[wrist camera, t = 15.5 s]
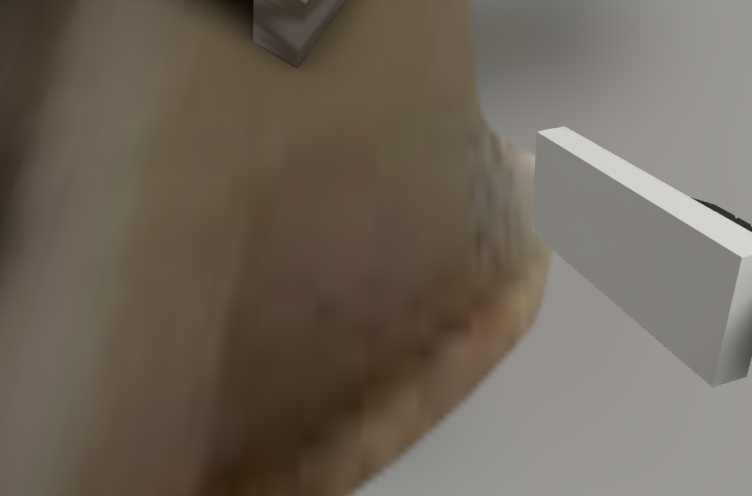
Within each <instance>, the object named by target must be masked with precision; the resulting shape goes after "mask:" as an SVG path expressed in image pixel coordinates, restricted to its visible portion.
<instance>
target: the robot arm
mask: <svg viewBox="0 0 752 496" xmlns="http://www.w3.org/2000/svg"><path fill="white" fill-rule="evenodd" d="M531 232H533V233H534V234H535V235H536V236H537V237H538V238H540V239H541V240H542V241H543V242H544V243H545V244H547V245H548V246H549V247H550V248H551V249H552V250H554V251H555V252H556V253H557V254H558V255H559V256H561V257H562V258H563V259H564V260H565V261H566V262H567V263H569V264H570V265H571V266H572V267H573V268H574V269H576V270H577V271H578V272H579V273H580V274H581V275H583V276H584V277H585V278H586V279H587V280H588V281H590V282H591V283H592V284H593V285H594V286H595V287H597V288H598V289H599V290H600V291H601V292H602V293H604V294H605V295H606V296H607V297H609V299H610V300H612V301H613V302H614V303H615V304H616V305H617V306H619V307H620V308H621V309H622V310H623V311H624V312H626V313H627V314H628V315H629V316H630V317H631V318H633V319H634V320H635V321H636V322H637V323H638V324H639V325H641V326H642V327H643V328H644V329H645V330H647V331H648V332H649V333H650V334H651V335H652V336H654V337H655V338H656V339H657V340H658V341H659V342H660V343H662V344H663V345H664V346H665V347H666V348H668V349H669V350H670V351H671V352H672V353H673V354H674V355H675V356H677V357H678V358H679V359H680V360H681V361H682V362H684V363H685V364H686V365H687V366H688V367H690V368H691V369H692V370H693V371H694V372H695V373H696V374H698V375H699V376H700V377H701V378H702V379H703V380H705V381H706V382H707V383H708V384H709V385H710V386H712V387H715V386H718V385H721V384H724V383H727V382H731V381H734V380H737V379H741V378H744V377H746V376H747V373H748V369H749V365H750V361H751V357H752V227H751V225H750V224H749V223H747V222H745V221H743V220H741V219H740V218H737V219H736V218H735V216H734V215H732V214H731V213H729V212H727V211H725V210H723V209H722V208H720V207H718V206H716V205H714V204H710V203H707V202H704V201H700V200H697V199H694V198H691V197H688V196H687V195H685V194H683V193H681V192H680V191H678V190H676V189H674V188H672V187H671V186H669V185H667V184H665V183H664V182H662V181H660V180H658V179H657V178H655V177H653V176H651V175H649V174H648V173H646V172H644V171H642V170H640V169H639V168H637V167H635V166H634V165H632V164H630V163H628V162H626V161H625V160H623V159H621V158H619V157H618V156H616V155H614V154H612V153H611V152H609V151H607V150H605V149H603V148H602V147H600V146H598V145H596V144H595V143H593V142H591V141H589V140H588V139H586V138H584V137H582V136H580V135H579V134H577V133H575V132H573V131H572V130H570V129H568V128H566V127H559V128H554V129H549V130H544V131H538V132H537V139H536V156H535V174H534V192H533V210H532V228H531Z"/></svg>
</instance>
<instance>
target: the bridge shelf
mask: <svg viewBox="0 0 752 496" xmlns="http://www.w3.org/2000/svg"><path fill="white" fill-rule="evenodd" d="M345 2H346V0H254V14H253V42H254V43H256V44H258V45H259V46H261V47H263V48H264V49H266V50H268V51H269V52H271V53H273V54H274V55H276V56H278V57H279V58H281V59H283V60H284V61H286V62H288V63H289V64H291V65H293V66H294V67H296V68H298V66H299V65H300V63H301V62H302V61H303V59H304V58H305V57H306V55H307V54H308V52H309V51H310V50H311V48H312V47H313V46H314V44H315V43H316V42H317V40H318V39H319V37H320V36H321V35H322V33H323V32H324V31H325V29H326V28H327V26H328V25H329V24H330V22H331V21H332V20H333V18H334V17H335V15H336V14H337V13H338V11H339V10H340V9H341V7H342V6H343V5H344V3H345Z"/></svg>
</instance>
